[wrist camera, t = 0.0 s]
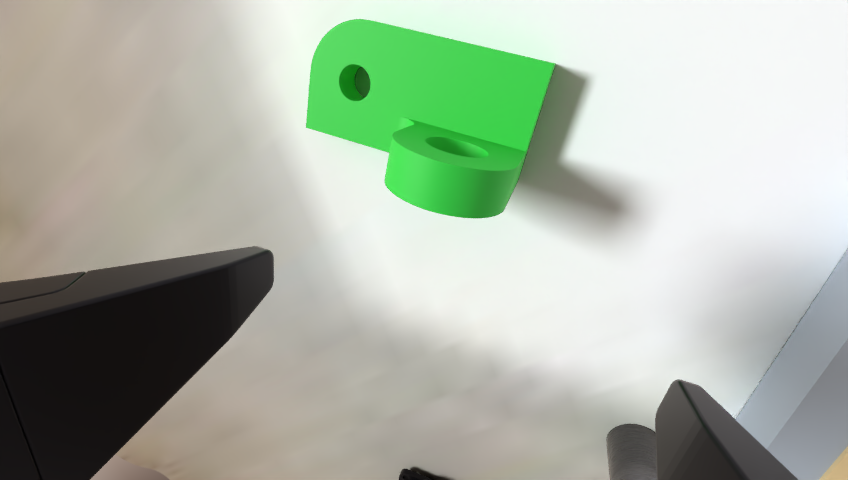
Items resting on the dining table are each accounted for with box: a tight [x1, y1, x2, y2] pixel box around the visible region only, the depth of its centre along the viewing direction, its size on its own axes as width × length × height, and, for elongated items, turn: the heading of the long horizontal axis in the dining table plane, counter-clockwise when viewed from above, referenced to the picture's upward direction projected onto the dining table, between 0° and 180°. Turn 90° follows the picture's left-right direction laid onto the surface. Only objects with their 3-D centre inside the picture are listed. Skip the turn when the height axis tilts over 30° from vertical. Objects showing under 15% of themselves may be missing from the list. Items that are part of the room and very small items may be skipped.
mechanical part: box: [306, 19, 556, 218], centre depth 19 cm, size 12×6×8 cm, turn 78°
